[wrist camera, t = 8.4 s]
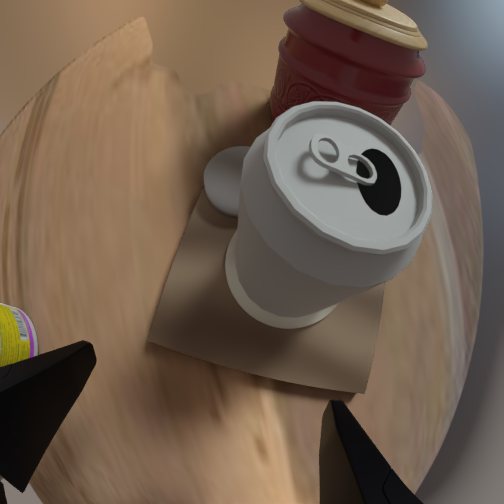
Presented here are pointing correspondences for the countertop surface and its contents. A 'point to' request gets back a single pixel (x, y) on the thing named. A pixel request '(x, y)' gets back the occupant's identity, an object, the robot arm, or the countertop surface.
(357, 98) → the canister
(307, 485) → the countertop surface
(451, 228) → the countertop surface
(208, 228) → the board
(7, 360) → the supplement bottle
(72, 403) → the robot arm
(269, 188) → the can
